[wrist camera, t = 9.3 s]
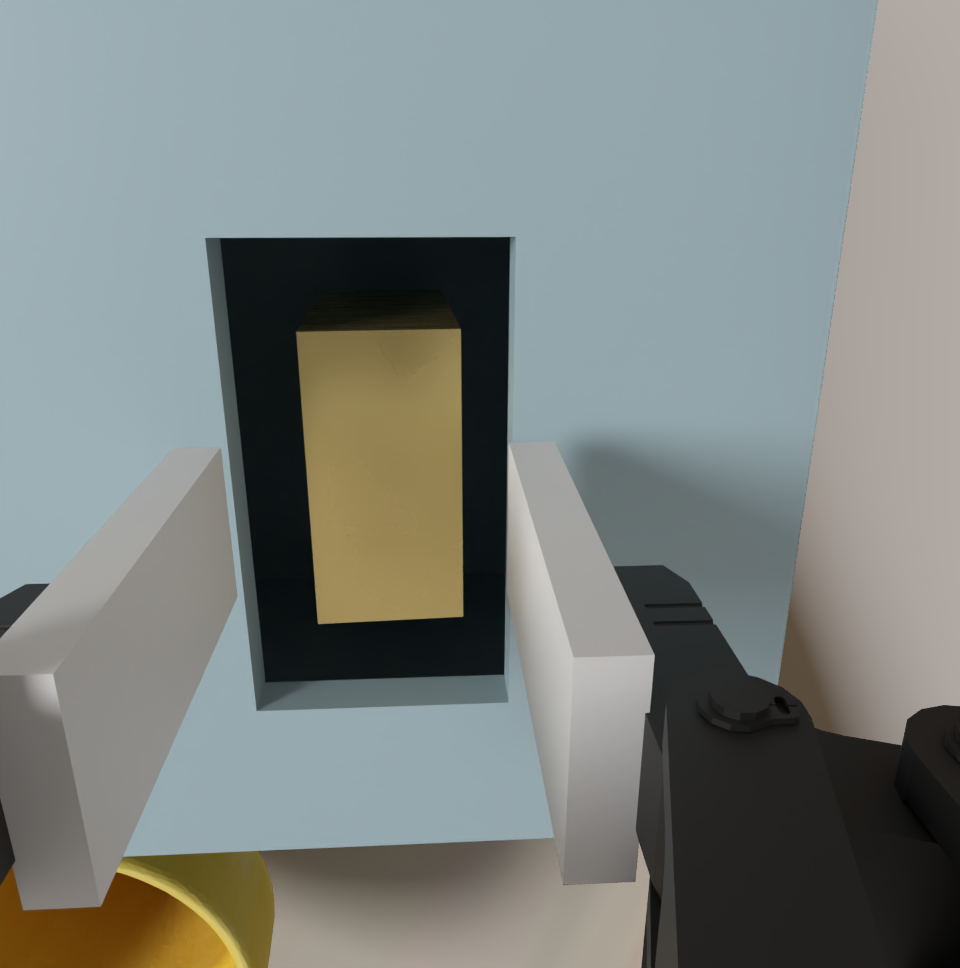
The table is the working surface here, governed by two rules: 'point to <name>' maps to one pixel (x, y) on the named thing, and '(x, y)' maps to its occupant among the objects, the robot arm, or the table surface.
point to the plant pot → (151, 918)
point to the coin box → (484, 339)
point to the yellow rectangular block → (383, 454)
